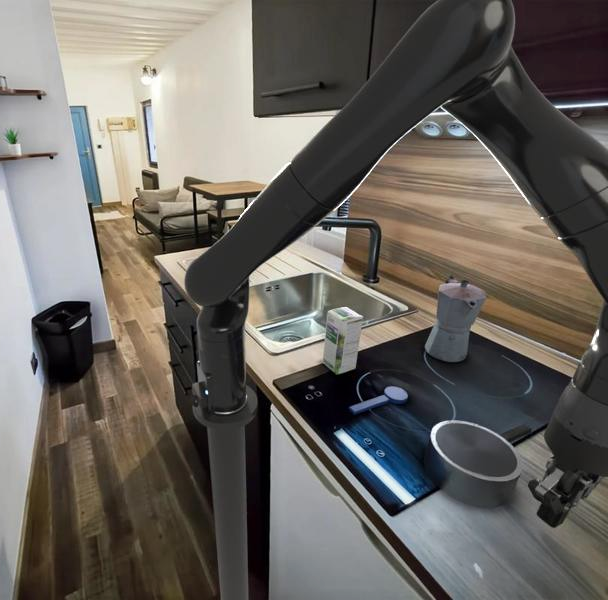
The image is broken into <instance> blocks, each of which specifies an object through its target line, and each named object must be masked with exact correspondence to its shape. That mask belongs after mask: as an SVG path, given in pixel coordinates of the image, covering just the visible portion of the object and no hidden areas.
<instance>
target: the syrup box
mask: <svg viewBox="0 0 608 600" xmlns="http://www.w3.org/2000/svg"><path fill="white" fill-rule="evenodd" d="M363 321H364V316H363V315H361V314H358V312H356V311H354V310H353V309H350V308H349V307H347V306H344V307H337V308H334V309H330V310H327V314H326V323H325V333H324V334H325V335H324V343H323V352H322V353H323V354H322V364H323V365H325V366H326V367H327V368H328V369H329V370H331V371H332V372H333V373H334V374H335V375H341V374H344V373H347V372H349V371H353V370H355V369H356V367H357V360H358V354H359V346H360V340H361V333H362V327H363Z"/></svg>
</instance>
